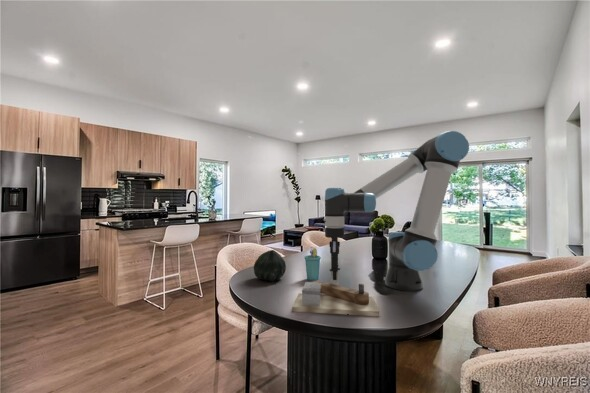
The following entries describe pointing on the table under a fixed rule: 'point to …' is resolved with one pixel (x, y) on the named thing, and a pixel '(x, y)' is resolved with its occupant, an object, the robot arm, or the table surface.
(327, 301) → the pintle board
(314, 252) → the cup
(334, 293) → the wooden bar with peg
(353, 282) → the table surface
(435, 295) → the table surface
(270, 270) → the squash
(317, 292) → the block
